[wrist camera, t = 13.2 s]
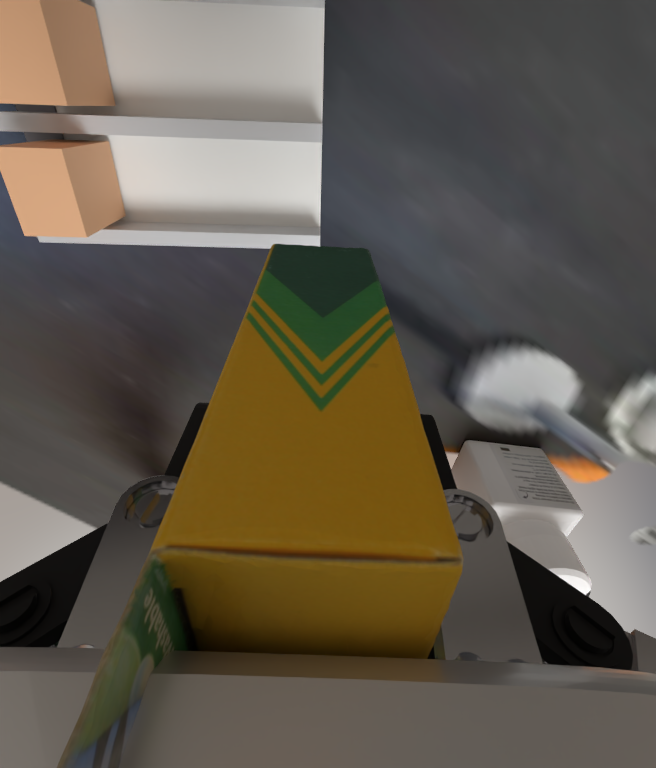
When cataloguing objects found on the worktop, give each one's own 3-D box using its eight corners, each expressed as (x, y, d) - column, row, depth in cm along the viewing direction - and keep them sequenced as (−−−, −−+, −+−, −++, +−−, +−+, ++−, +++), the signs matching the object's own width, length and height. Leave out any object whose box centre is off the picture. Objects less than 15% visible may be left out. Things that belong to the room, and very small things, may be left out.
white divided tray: (327, -127, 18) (328, -178, 15) (319, 235, 27) (319, 253, 24) (-39, -148, 18) (-120, -205, 15) (75, 228, 27) (40, 245, 23)
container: (509, 501, 43) (573, 634, 32) (438, 494, 42) (479, 627, 31) (542, 446, 38) (629, 579, 28) (464, 437, 38) (522, 570, 27)
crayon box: (353, 441, 16) (386, 979, 6) (274, 437, 16) (178, 976, 6) (377, 246, 12) (605, 947, 2) (270, 239, 11) (-59, 936, 2)
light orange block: (108, 141, 22) (61, 148, 18) (126, 215, 24) (87, 237, 20) (52, 139, 22) (-9, 146, 18) (74, 214, 24) (24, 235, 20)
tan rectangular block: (94, 7, 19) (34, -20, 15) (115, 105, 21) (67, 105, 17) (29, 4, 19) (-50, -24, 15) (56, 103, 21) (-6, 103, 17)
